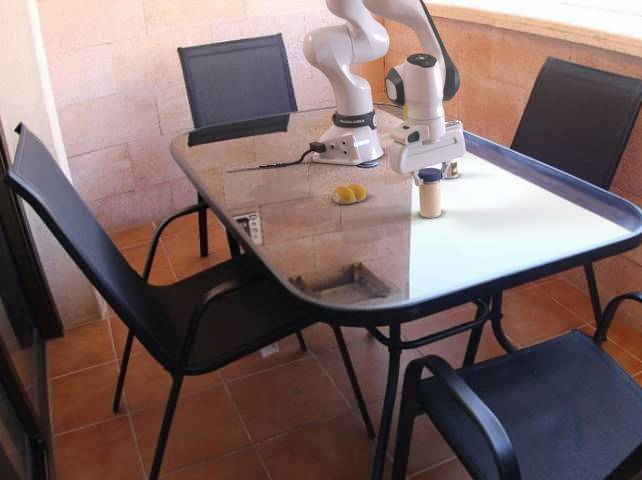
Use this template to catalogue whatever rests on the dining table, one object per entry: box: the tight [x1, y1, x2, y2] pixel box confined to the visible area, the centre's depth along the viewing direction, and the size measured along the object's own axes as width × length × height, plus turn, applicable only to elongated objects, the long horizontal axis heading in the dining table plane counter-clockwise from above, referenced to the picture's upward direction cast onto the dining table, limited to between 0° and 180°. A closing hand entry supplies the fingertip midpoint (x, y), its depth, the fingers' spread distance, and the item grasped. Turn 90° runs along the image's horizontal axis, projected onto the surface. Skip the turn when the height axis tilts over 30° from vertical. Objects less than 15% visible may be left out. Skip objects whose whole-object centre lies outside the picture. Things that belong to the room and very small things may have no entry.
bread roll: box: [332, 183, 367, 205], centre depth 181 cm, size 8×9×4 cm
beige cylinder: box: [418, 179, 442, 219], centre depth 168 cm, size 5×5×11 cm
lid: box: [417, 167, 442, 182], centre depth 166 cm, size 6×6×2 cm
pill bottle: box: [446, 158, 459, 179], centre depth 191 cm, size 4×4×8 cm
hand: (431, 181), depth 166 cm, fingers closed on lid, 6 cm apart
